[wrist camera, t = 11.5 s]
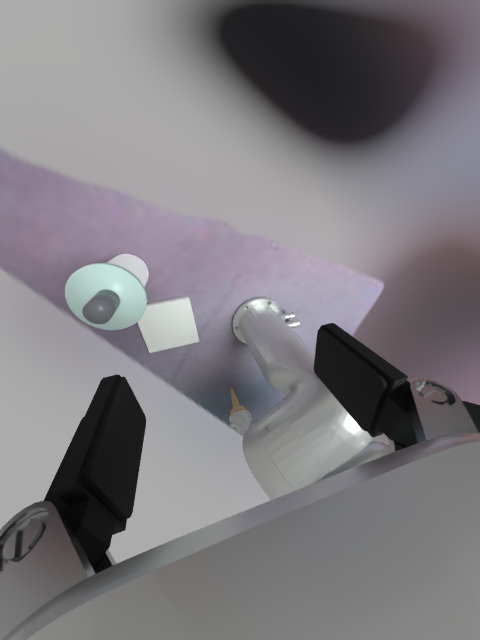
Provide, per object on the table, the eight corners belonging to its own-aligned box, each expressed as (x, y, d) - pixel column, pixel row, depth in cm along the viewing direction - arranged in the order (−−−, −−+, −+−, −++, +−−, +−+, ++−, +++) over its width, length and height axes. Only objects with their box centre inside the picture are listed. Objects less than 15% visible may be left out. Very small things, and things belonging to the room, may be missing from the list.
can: (126, 294, 39) (107, 324, 28) (100, 263, 35) (69, 285, 25) (156, 278, 39) (148, 302, 28) (133, 246, 35) (115, 261, 25)
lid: (133, 257, 25) (124, 266, 21) (155, 318, 30) (152, 336, 26) (52, 269, 24) (25, 282, 19) (89, 332, 28) (73, 354, 24)
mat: (188, 296, 42) (189, 297, 41) (199, 339, 47) (199, 341, 46) (132, 306, 40) (131, 308, 39) (150, 350, 45) (149, 353, 44)
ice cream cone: (242, 390, 59) (260, 439, 46) (224, 397, 59) (237, 449, 46) (237, 377, 56) (254, 426, 44) (218, 385, 56) (230, 437, 43)
